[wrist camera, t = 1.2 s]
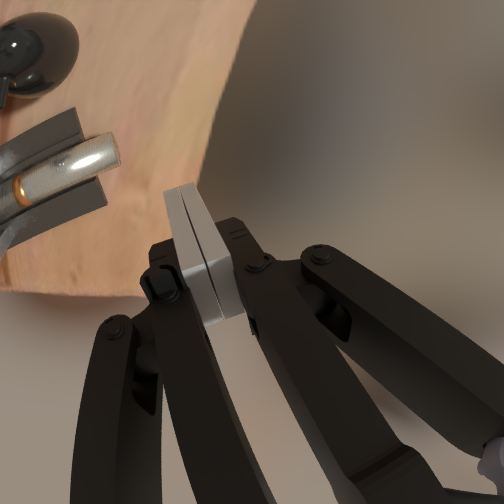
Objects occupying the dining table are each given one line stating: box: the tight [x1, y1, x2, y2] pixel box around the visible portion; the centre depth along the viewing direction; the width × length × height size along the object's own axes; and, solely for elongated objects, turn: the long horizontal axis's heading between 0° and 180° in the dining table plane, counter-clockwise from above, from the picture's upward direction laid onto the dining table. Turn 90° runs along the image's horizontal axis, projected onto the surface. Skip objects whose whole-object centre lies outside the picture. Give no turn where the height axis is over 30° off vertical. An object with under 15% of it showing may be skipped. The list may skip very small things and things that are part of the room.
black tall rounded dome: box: [0, 12, 79, 110], centre depth 16 cm, size 10×10×15 cm
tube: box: [0, 131, 121, 220], centre depth 28 cm, size 18×4×4 cm, turn 99°
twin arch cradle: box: [0, 107, 108, 261], centre depth 26 cm, size 14×26×9 cm, turn 99°
